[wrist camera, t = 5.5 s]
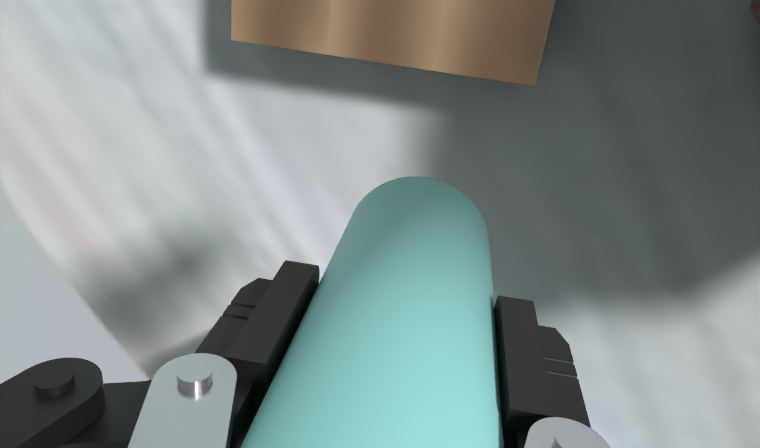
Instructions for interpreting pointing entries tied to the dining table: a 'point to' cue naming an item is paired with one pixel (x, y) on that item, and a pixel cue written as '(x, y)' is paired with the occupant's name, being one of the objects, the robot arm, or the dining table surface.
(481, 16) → the bore block
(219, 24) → the dining table surface
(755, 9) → the bucket
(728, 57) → the dining table surface
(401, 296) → the dowel
